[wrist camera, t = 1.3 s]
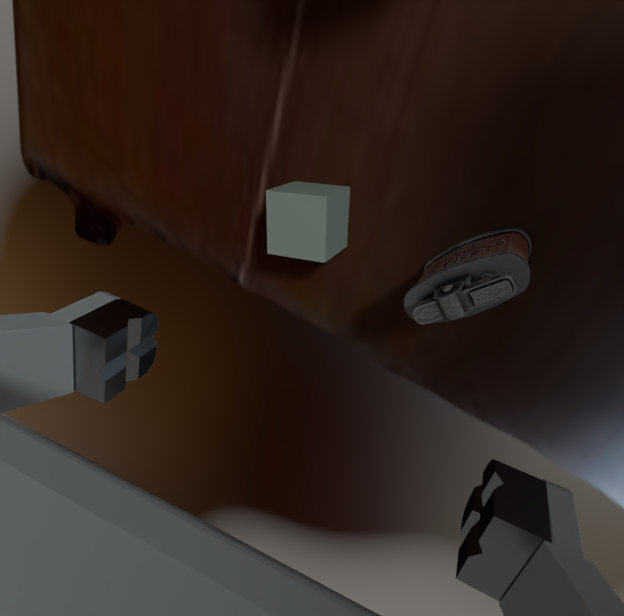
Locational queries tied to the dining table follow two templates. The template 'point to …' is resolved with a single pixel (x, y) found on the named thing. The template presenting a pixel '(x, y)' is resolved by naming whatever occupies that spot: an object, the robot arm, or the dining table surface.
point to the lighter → (471, 277)
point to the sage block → (307, 220)
